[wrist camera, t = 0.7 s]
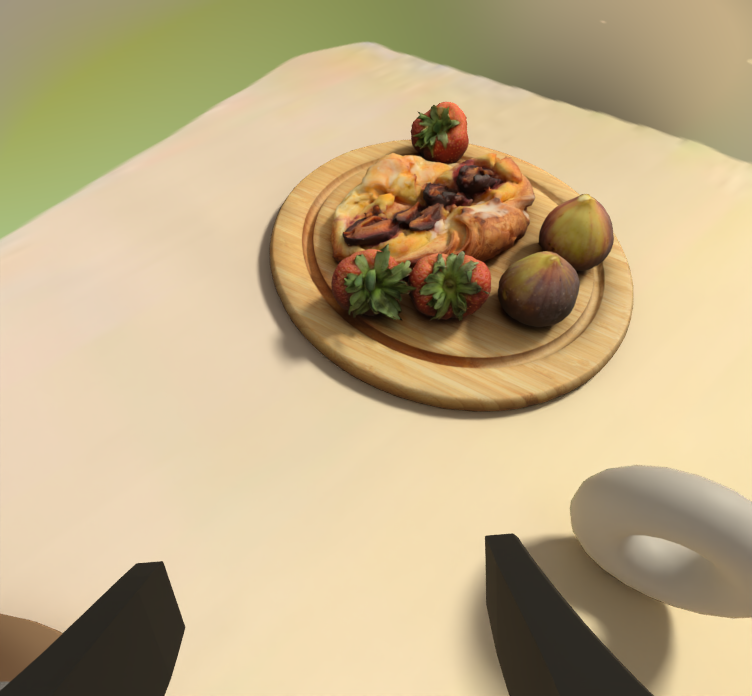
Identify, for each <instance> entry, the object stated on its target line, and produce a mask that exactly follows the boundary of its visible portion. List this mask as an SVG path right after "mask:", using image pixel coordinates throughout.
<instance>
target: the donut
mask: <svg viewBox="0 0 752 696" xmlns="http://www.w3.org/2000/svg"><path fill="white" fill-rule="evenodd" d="M570 516H571V525H572V529H573V532H574V534H575V536H576V537H577V539H578V541H579V542H580V544H581V546H582V547H583V549H584V550H585V552H586V553H587V554H588V555H589V556H590V557H591V558H592V559H593V560H594V561H595V562H596V563H597V564H598V565H599V566H600V567H601V568H602V569H604V570H605V571H607V572H608V573H610V574H611V575H612V576H614V577H615V578H617V579H618V580H620V581H621V582H623V583H624V584H626V585H627V586H629V587H631V588H633V589H635V590H637V591H639V592H641V593H643V594H645V595H646V596H648V597H651V598H653V599H656V600H658V601H661V602H664V603H666V604H669V605H671V606H674V607H677V608H681V609H685V610H688V611H692V612H696V613H699V614H704V615H712V616H719V617H727V618H750V617H752V502H751V501H750V500H748V499H747V498H745V497H744V496H742V495H741V494H739V493H738V492H736V491H734V490H733V489H730V488H728V487H726V486H723V485H721V484H719V483H716V482H714V481H711V480H709V479H707V478H704V477H702V476H699V475H695V474H691V473H687V472H683V471H679V470H675V469H671V468H667V467H655V466H643V465H633V466H625V467H618V468H611V469H606V470H604V471H602V472H600V473H597V474H595V475H593V476H591V477H589V478H588V479H586V480H585V481H584V482H583V483H582V484H581V486H580V487H579V489H578V490H577V492H576V493H575V495H574V497H573V498H572V500H571V505H570Z"/></svg>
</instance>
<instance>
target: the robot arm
mask: <svg viewBox="0 0 752 696" xmlns="http://www.w3.org/2000/svg"><path fill="white" fill-rule="evenodd" d="M485 554H486V602H487V609H488V614H489V619H490V624H491V629H492V634H493V638H494V643H495V647H496V652H497V656H498V660H499V663H500V666H501V670H502V673H503V676H504V679H505V682H506V686H507V689H508V692H509V695H510V696H654V695H653V694H651V693H650V692H649V691H648V690H647V689H646V688H645V687H644V686H643V685H642V684H641V683H640V682H639V681H638V680H637V679H636V678H635V677H634V676H633V675H632V674H631V673H630V671H629V670H628V669H627V668H626V667H625V666H624V665H623V664H622V663H621V662H620V661H619V660H618V659H617V658H616V657H615V656H614V655H613V654H612V653H611V651H610V650H609V649H608V648H607V647H606V646H605V645H604V644H603V643H602V642H601V641H600V640H599V639H598V637H597V636H596V635H595V634H594V633H593V632H592V631H591V630H590V628H589V627H588V626H587V625H586V624H585V623H584V622H583V620H582V619H581V618H580V617H579V616H578V614H577V613H576V612H575V611H574V610H573V609H572V607H571V606H570V605H569V604H568V603H567V602H566V600H565V599H564V598H563V597H562V596H561V594H560V593H559V592H558V591H557V589H556V588H555V587H554V586H553V584H552V583H551V582H550V581H549V579H548V578H547V577H546V575H545V574H544V573H543V572H542V570H541V569H540V568H539V566H538V565H537V564H536V562H535V561H534V560H533V558H532V557H531V555H530V554H529V553H528V551H527V550H526V548H525V547H524V546H523V544H522V543H521V541H520V540H519V538H518V537H517V536H516V535H514V534H501V535H489V536H485ZM184 630H185V625H184V622H183V619H182V616H181V613H180V610H179V607H178V604H177V601H176V598H175V595H174V592H173V590H172V587H171V584H170V581H169V578H168V575H167V572H166V569H165V566H164V563H163V561H161V562H149V563H137V564H135V565H134V566H133V567H132V568H131V569H130V570H129V571H128V572H127V573H125V574H124V575H123V576H122V577H121V578H120V579H119V580H118V581H117V582H116V583H115V584H114V585H113V586H112V587H111V588H110V589H109V590H108V591H107V592H106V593H105V594H103V595H102V596H101V597H100V598H99V599H98V600H97V601H96V602H95V603H94V604H93V605H92V606H91V607H90V608H89V609H88V610H87V611H86V612H85V613H84V614H83V615H82V616H81V617H80V618H79V619H78V620H76V621H75V622H74V623H73V624H72V625H71V626H70V627H69V628H68V629H67V630H66V631H65V632H64V633H63V634H62V635H61V636H60V637H59V638H58V639H56V640H55V641H54V642H53V643H52V644H51V645H50V646H49V647H48V648H47V649H46V650H45V651H44V652H43V653H42V654H41V655H39V656H38V657H37V658H36V659H35V660H34V661H33V662H32V663H31V664H29V665H28V666H27V667H26V668H25V669H24V670H23V671H22V672H20V673H19V674H18V675H17V676H16V677H15V678H14V679H13V680H12V681H10V682H9V683H8V684H7V685H6V686H5V687H4V688H3V689H1V690H0V696H164V695H165V693H166V690H167V687H168V685H169V682H170V680H171V676H172V673H173V670H174V666H175V663H176V660H177V656H178V653H179V649H180V645H181V641H182V638H183V634H184Z"/></svg>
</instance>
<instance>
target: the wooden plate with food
mask: <svg viewBox="0 0 752 696" xmlns="http://www.w3.org/2000/svg"><path fill="white" fill-rule="evenodd" d="M418 113H419V114H420V116H419V117H418V118H417V119H416V120H415V121H414V122H413V124H412V130H411V140H401V141H392V142H386V143H381V144H376V145H371V146H367V147H363V148H359V149H356V150H352V151H350V152H348V153H345V154H342V155H340V156H338V157H336V158H334V159H332V160H330V161H329V162H327V163H325V164H323V165H322V166H320V167H319V168H317V169H316V170H314V171H313V172H312V173H310V174H309V175H308V176H307V177H305V178H304V179H303V180H302V181H301V182H300V183H299V184H298V185H297V186H296V187H295V188H294V189H293V190H292V192H291V193H290V194H289V196H288V197H287V198H286V200H285V202H284V203H283V205H282V207H281V208H280V211H279V213H278V215H277V218H276V221H275V224H274V227H273V231H272V236H271V242H270V265H271V272H272V276H273V280H274V283H275V287H276V290H277V293H278V295H279V297H280V299H281V301H282V303H283V305H284V307H285V309H286V311H287V313H288V314H289V316H290V318H291V320H292V322H293V323H294V324H295V325H296V327H297V328H298V329H299V330H300V332H301V333H302V334H303V335H304V336H305V337H306V338H307V339H308V340H309V341H310V342H311V343H312V345H313V346H315V347H316V348H317V349H318V350H319V351H320V352H321V353H322V354H323V355H325V356H326V357H327V358H328V359H330V360H331V361H332V362H333V363H335V364H336V365H337V366H339V367H340V368H342V369H343V370H345V371H346V372H348V373H349V374H351V375H353V376H354V377H356V378H358V379H360V380H361V381H363V382H366V383H368V384H370V385H372V386H373V387H375V388H378V389H380V390H383V391H385V392H388V393H390V394H393V395H395V396H398V397H401V398H405V399H408V400H412V401H415V402H419V403H422V404H427V405H431V406H436V407H440V408H445V409H457V410H467V411H500V410H511V409H518V408H523V407H528V406H532V405H535V404H539V403H543V402H546V401H549V400H552V399H554V398H556V397H559V396H561V395H564V394H566V393H568V392H570V391H572V390H574V389H575V388H577V387H579V386H581V385H583V384H584V383H586V382H587V381H588V380H590V379H591V378H592V377H594V376H595V375H596V374H597V373H598V372H599V371H600V370H601V369H602V368H603V367H604V366H605V365H606V364H607V363H608V361H609V360H610V359H611V358H612V357H613V355H614V354H615V352H616V351H617V349H618V348H619V346H620V345H621V343H622V341H623V339H624V337H625V335H626V333H627V330H628V327H629V323H630V320H631V315H632V309H633V282H632V277H631V272H630V268H629V265H628V261H627V258H626V256H625V254H624V252H623V250H622V247H621V245H620V243H619V241H618V240H617V238H616V236H615V234H614V233H613V227H612V222H611V220H610V217H609V215H608V213H607V212H606V210H605V208H604V207H603V206H602V205H601V204H600V203H599V202H598V201H597V200H596V199H594V198H593V197H590V195H588V194H582V195H579V194H578V193H577V192H576V191H574V190H573V189H572V188H570V187H569V186H568V185H566V184H565V183H563V182H562V181H560V180H559V179H557V178H556V177H554V176H552V175H551V174H549V173H547V172H546V171H544V170H542V169H540V168H538V167H536V166H534V165H532V164H530V163H528V162H526V161H523V160H521V159H518V158H516V157H513V156H510V155H508V154H505V153H502V152H499V151H496V150H492V149H489V148H485V147H481V146H476V145H472V144H468V143H469V142H468V135H467V121H466V116H465V114H464V113H463V111H462V110H461V109H460V108H459V107H458V106H457V105H456V104H454V103H450V102H442V103H439V104H438V105H437V106H435V105H433V106H432V107H431V109H430V110H429V111H428V112H426V113H425V114H422V113H420V112H418Z"/></svg>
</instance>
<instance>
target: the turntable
mask: <svg viewBox="0 0 752 696" xmlns="http://www.w3.org/2000/svg"><path fill="white" fill-rule="evenodd" d="M62 634H63V633H61V632H59V631H57V630H55V629H52V628H50V627H47V626H45V625H42V624H40V623H38V622H34V621H30V620H26V619H22V618H17V617H13V616H8V615H4V614H0V682H10V681H12V680H13V679H14V678H15V677H16V676H17V675H18V674H19V673H20V672H22V671H23V670H24V669H25V668H26V667H27V666H28V665H29V664H31V663H32V662H33V661H34V660H35V659H36V658H37V657H38V656H39V655H41V654H42V653H43V652H44V651H45V650H46V649H47V648H48V647H49V646H50V645H51V644H52V643H53V642H54V641H55V640H56V639H58V638H59V637H60V636H61V635H62Z"/></svg>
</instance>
